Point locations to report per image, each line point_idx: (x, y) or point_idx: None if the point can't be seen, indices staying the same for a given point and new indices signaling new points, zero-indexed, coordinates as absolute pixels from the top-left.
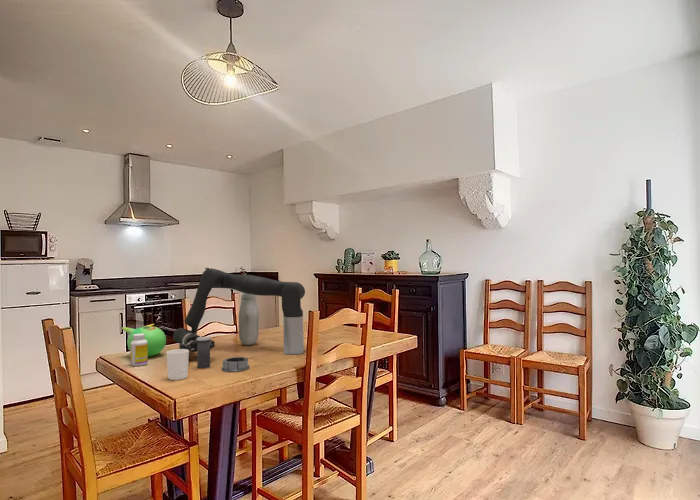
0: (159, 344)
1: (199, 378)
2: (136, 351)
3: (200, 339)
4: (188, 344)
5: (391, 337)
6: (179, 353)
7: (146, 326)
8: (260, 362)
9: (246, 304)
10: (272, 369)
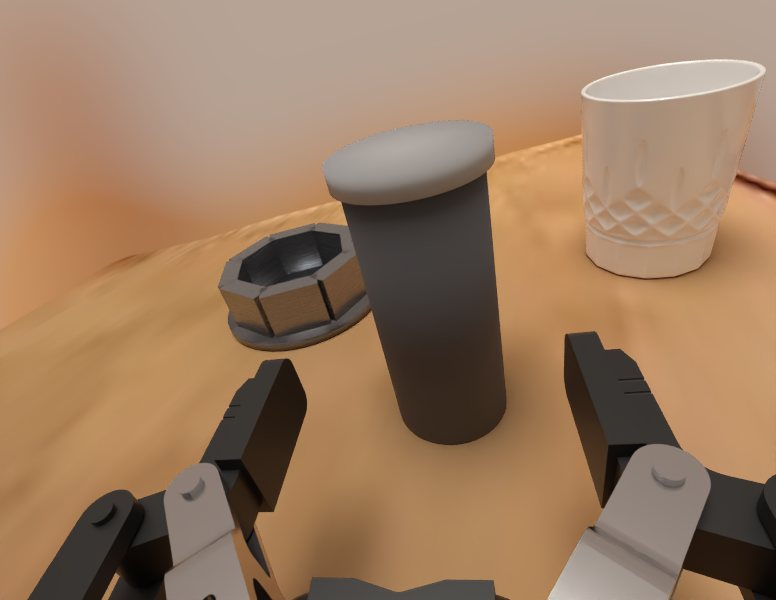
0: None
1: (522, 227)
2: None
3: (458, 124)
4: (633, 480)
5: None
6: (639, 69)
7: None
8: (126, 355)
9: None
10: (214, 256)
